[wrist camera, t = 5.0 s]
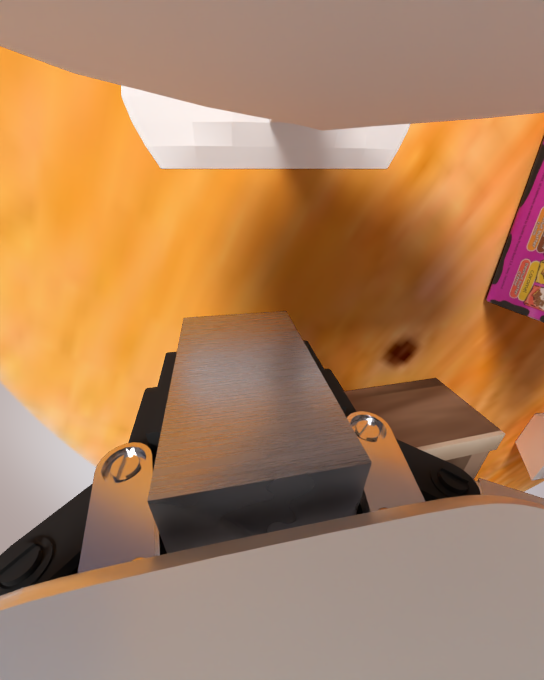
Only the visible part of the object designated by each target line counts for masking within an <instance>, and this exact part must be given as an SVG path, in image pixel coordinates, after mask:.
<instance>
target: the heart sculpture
mask: <svg viewBox="0 0 544 680" xmlns="http://www.w3.org/2000/svg"><path fill="white" fill-rule="evenodd" d="M0 46H2V47H4V48H7V49H10V50H12V51H15V52H18V53H21V54H23V55H26V56H29V57H31V58H34V59H37V60H40V61H42V62H45V63H48V64H50V65H53V66H56V67H59V68H61V69H64V70H67V71H69V72H72V73H75V74H79V75H83V76H87V77H91V78H95V79H99V80H103V81H107V82H111V83H115V84H119V85H121V96H122V99H123V101H124V104H125V106H126V109H127V111H128V114H129V116H130V119H131V121H132V123H133V125H134V127H135V128H136V130H137V132H138V134H139V135H140V137H141V139H142V141H143V142H144V144H145V146H146V147H147V149H148V150H149V152H150V153H151V155H152V156H153V158H154V159H155V160H156V162H157V163H158V165H159V166H160V168H161V169H387V168H388V166H389V165H390V163H391V161H392V159H393V158H394V156H395V154H396V153H397V151H398V149H399V147H400V145H401V143H402V141H403V139H404V137H405V135H406V133H407V131H408V129H409V126H410V124H412V123H426V122H440V121H454V120H467V119H481V118H492V117H502V116H512V115H523V114H533V113H543V112H544V0H0Z"/></svg>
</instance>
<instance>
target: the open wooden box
mask: <svg viewBox="0 0 544 680" xmlns="http://www.w3.org/2000/svg"><path fill="white" fill-rule="evenodd" d="M344 392H345V394H346V395H347V397H348V398H349V400H350V402H351V403H352V405H353V406H354V408H355V410H356V411H357V412H359V411H364V412H370V413H373V414H376V415H377V416H379V417H381V418H382V419H383V420H385V421H386V422H387V423H388V425H389V426H390V428H391V430H392V432H393V434H394V436H395V438H396V439H398V440H400V441H402V442H404V443H407V444H409V445H411V446H413V447H416V448H418V449H420V450H422V451H425V452H427V453H429V454H431V455H434V456H436V457H438V458H440V459H443V460H445V461H447V462H449V463H451V464H454V465H456V466H457V467H459V468H461V469H462V470H464V471H465V472H466V473H468V474H469V475H470V476H471V477H472V479H473V480H474V478H475V476H476V474H477V473H478V471H479V469H480V467H481V465H482V464H483V462H484V460H485V458H486V457H487V455H488V453H489V451H492V450H496V449H497V448H498V446H499V444H500V442H501V441H502V439H503V437H504V435H505V433H504V432H503V431H501V430H500V429H499V428H498V427H496V426H495V425H494V424H493V423H491V422H490V421H489V420H488V419H486V418H485V417H484V416H483V415H481V414H480V413H479V412H478V411H476V410H475V409H474V408H473V407H471V406H470V405H469V404H468V403H466V402H465V401H464V400H463V399H461V398H460V397H459V396H458V395H456V394H455V393H454V392H453V391H451V390H450V389H449V388H448V387H446V386H445V385H444V384H443V383H442V382H440V381H439V380H438V379H437V378H432V379H426V380H419V381H412V382H405V383H398V384H392V385H385V386H378V387H371V388H364V389H358V390H351V391H344Z"/></svg>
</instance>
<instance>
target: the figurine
mask: <svg viewBox="0 0 544 680" xmlns="http://www.w3.org/2000/svg"><path fill="white" fill-rule="evenodd" d="M515 443H516V445H517V447H518V450H519V452H520V454H521V457H522V459H523V461H524V464H525V466H526V468H527V471H528V473H529V475H530V478H531V480H537V479H542V478H544V413H537V414H535V415H534V416H533V418H532V419H531V420H530V422H529V423H528V425H527V426H526V427H525V429H524V430H523V432H522V433H521V435H520V436H519V437H518V439H517V440H516V442H515Z"/></svg>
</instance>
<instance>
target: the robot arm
mask: <svg viewBox="0 0 544 680" xmlns="http://www.w3.org/2000/svg"><path fill="white" fill-rule="evenodd" d="M303 342H304V343H305V345H306V347H307V349H308V350H309V352H310V354H311V356H312V358H313V359H314V361H315V363H316V365H317V366H318V368H319V370H320V372H321V373H322V375H323V377H324V379H325V381H326V382H327V384H328V386H329V388H330V389H331V391H332V393H333V395H334V396H335V398H336V400H337V402H338V404H339V405H340V407H341V409H342V411H343V412H344V414H345V416H346V418H347V419H348V421H349V423H350V425H351V427H352V428H353V430H354V432H355V434H356V435H357V437H358V439H359V441H360V442H361V444H362V446H363V448H364V450H365V451H366V453H367V455H368V457H369V458H370V460H371V462H372V464H371V467H370V470H369V474H368V477H367V480H366V483H365V487H364V490H363V493H362V496H361V500H360V503H359V506H358V509H357V513H356V515H353V516H348V517H343V518H338V519H333V520H328V521H323V522H318V523H313V524H308V525H303V526H298V527H294V528H289V529H284V530H279V531H274V532H269V533H264V534H259V535H255V536H250V537H245V538H240V539H235V540H230V541H225V542H221V543H216V544H211V545H206V546H202V547H197V548H192V549H187V550H183V551H178V552H173V553H168V554H167V552H166V549H165V547H164V544H163V541H162V539H161V536H160V533H159V531H158V528H157V526H156V523H155V520H154V518H153V515H152V512H151V510H150V507H149V505H148V502H147V500H148V495H149V490H150V485H151V480H152V475H153V470H154V465H155V459H156V454H157V449H158V444H159V439H160V434H161V429H162V424H163V419H164V414H165V409H166V404H167V399H168V394H169V389H170V384H171V379H172V374H173V369H174V364H175V359H176V354H177V352H169V353H166V356H165V360H164V364H163V368H162V371H161V375H160V379H159V383H158V387H153V388H147V389H146V390H145V392H144V395H143V398H142V401H141V404H140V408H139V411H138V414H137V417H136V420H135V424H134V427H133V430H132V433H131V436H130V440H129V443H126V444H123V445H121V446H118V447H116V448H115V449H113V450H111V451H110V452H108V453H107V454H106V455H105V456H104V457H103V458H102V459H101V461H100V462H99V463H98V465H97V467H96V470H95V473H94V479H93V484H91V485H90V486H89V487H88V488H86V489H85V490H84V491H82V492H81V493H80V494H78V495H77V496H76V497H74V498H73V499H72V500H70V501H69V502H68V503H67V504H65V505H64V506H63V507H61V508H60V509H59V510H57V511H56V512H55V513H53V514H52V515H51V516H49V517H48V518H47V519H46V520H44V521H43V522H42V523H40V524H39V525H38V526H36V527H35V528H34V529H33V530H31V531H30V532H29V533H27V534H26V535H25V536H23V537H22V538H21V539H19V540H18V541H17V542H15V543H14V544H13V545H11V546H10V547H9V548H8V549H7V550H6V551H5V552H4V553H2V554H1V555H0V680H544V498H540V497H537V496H534V495H531V494H528V493H525V492H521V491H518V490H515V489H512V488H509V487H506V486H502V485H499V484H496V483H493V482H490V481H487V480H483V479H480V478H479V479H478V481H474V480H473V479H472V477H471V476H470V475H469V474H468V473H466V472H465V471H464V470H462V469H461V468H459V467H457V466H456V465H454V464H451V463H449V462H447V461H445V460H443V459H440V458H438V457H436V456H434V455H431V454H429V453H427V452H425V451H422V450H420V449H418V448H416V447H413V446H411V445H409V444H407V443H404V442H402V441H400V440H398V439H396V438H395V436H394V434H393V432H392V430H391V428H390V426H389V425H388V423H387V422H386V421H385V420H383V419H382V418H381V417H379V416H377V415H376V414H373V413H370V412H364V411H359V412H357V411H356V410H355V408H354V406H353V405H352V403H351V402H350V400H349V398H348V397H347V395H346V394H345V392H344V390H343V389H342V387H341V386H340V384H339V382H338V381H337V379H336V378H335V376H334V374H333V373H332V371H331V370H330V369H324V368H323V366H322V365H321V363H320V361H319V360H318V358H317V356H316V355H315V353H314V351H313V350H312V348H311V346H310V345H309V343H308V341H303Z"/></svg>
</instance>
